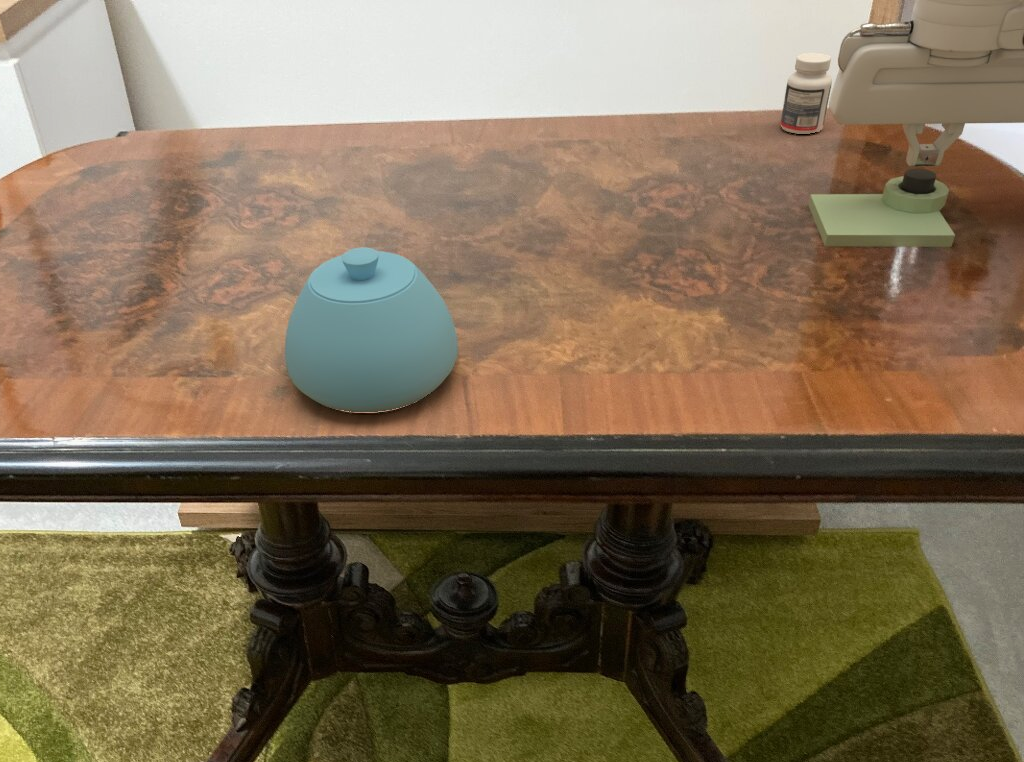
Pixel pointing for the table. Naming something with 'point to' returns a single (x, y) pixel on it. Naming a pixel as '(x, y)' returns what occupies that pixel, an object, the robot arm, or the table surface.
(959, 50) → the robot arm
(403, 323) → the sugar bowl
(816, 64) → the pill bottle
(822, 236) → the scale
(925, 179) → the button
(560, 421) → the table surface
